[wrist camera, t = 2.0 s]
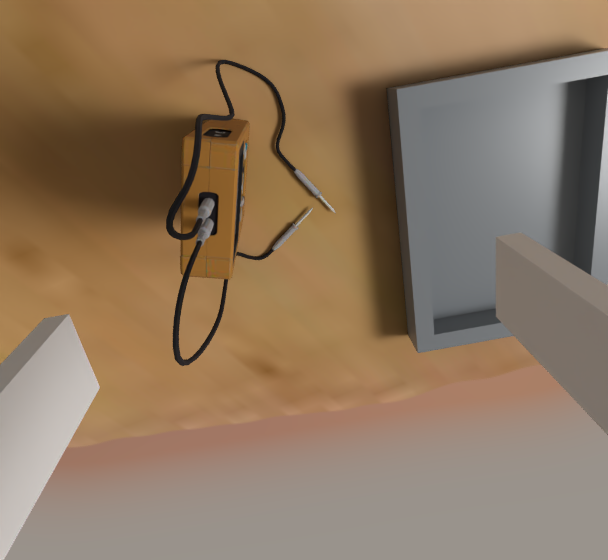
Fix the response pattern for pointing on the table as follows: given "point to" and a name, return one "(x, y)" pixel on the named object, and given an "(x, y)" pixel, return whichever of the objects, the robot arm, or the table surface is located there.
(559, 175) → the tray
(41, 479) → the robot arm
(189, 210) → the multimeter
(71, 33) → the table surface
